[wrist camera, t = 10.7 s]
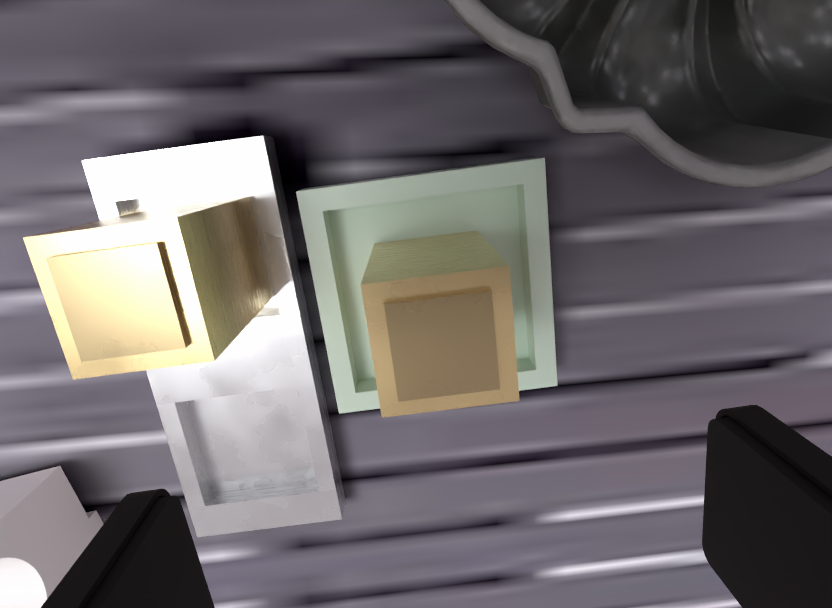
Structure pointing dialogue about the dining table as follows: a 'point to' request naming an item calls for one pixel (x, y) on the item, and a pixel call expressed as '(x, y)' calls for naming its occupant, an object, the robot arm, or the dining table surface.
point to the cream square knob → (152, 286)
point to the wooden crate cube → (440, 324)
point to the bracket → (40, 535)
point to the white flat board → (238, 353)
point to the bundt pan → (681, 77)
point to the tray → (422, 217)
